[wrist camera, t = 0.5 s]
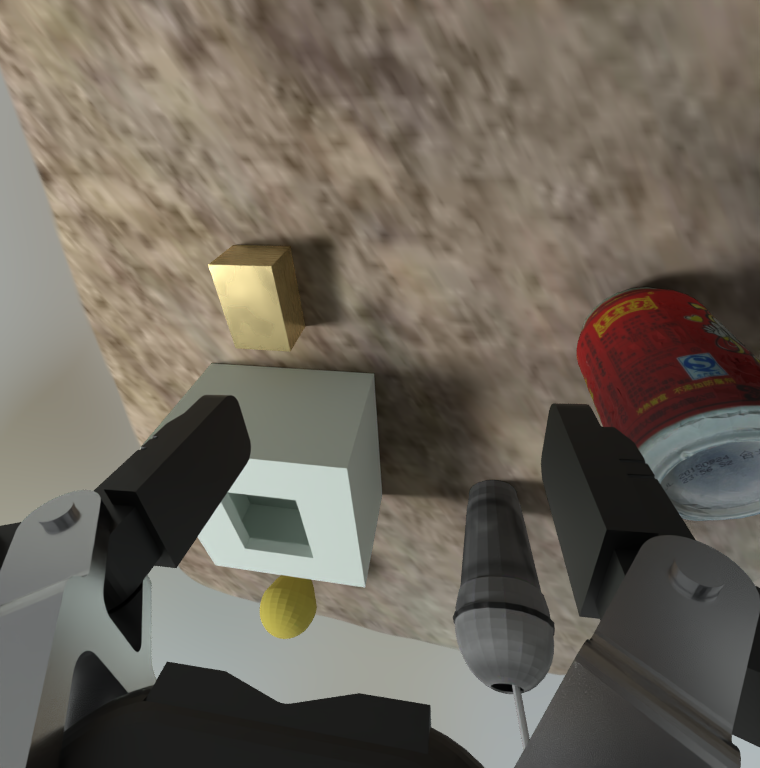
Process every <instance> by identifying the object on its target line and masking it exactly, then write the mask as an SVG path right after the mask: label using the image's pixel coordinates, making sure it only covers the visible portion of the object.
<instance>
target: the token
mask: <svg viewBox="0 0 760 768" xmlns="http://www.w3.org/2000/svg"><path fill="white" fill-rule="evenodd" d="M208 266H209V269H210V272H211V275H212V278H213V281H214V284H215V287H216V290H217V293H218V296H219V299H220V302H221V305H222V308H223V311H224V314H225V317H226V320H227V323H228V326H229V329H230V332H231V335H232V338H233V341H234V344H235V347H236V348H240V349H257V350H274V351H291V350H292V348H293V346H294V345H295V343H296V341H297V340H298V338H299V336H300V334H301V333H302V331H303V329H304V328H305V322H304V317H303V312H302V306H301V301H300V296H299V290H298V285H297V279H296V274H295V269H294V263H293V258H292V252H291V247H290V246H252V245H233V246H231V247H230V248H229V249H228V250H226V251H225V252H224V253H223V254H221V255H220V256H219V257H217V258H216V259H215V260H214V261H212V262H211V263H210V264H209V265H208Z"/></svg>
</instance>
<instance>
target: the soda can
mask: <svg viewBox="0 0 760 768" xmlns="http://www.w3.org/2000/svg"><path fill="white" fill-rule="evenodd" d="M577 360H578V365H579V367H580V369H581V372H582V374H583V377H584V379H585V382H586V384H587V387H588V390H589V392H590V394H591V397H592V399H593V402H594V404H595V407H596V409H597V412H598V414H599V417H600V420H601V422H602V425H603V427H615V428H616V429H617V430H619V431H620V432H621V433H623V434H624V435H625V436H627V437H628V438H629V439H630V440H632V441H633V442H634V443H635V445H636V446H637V448H638V449H639V451H640V453H641V454H642V456H643V457H644V459H645V464H648V465H649V467H650V468H651V470H652V472H653V473H654V475H655V479H657V480H658V481H659V483H660V484H661V486H662V488H663V489H664V491H665V492H666V494H667V495H668V497H669V499H670V500H671V502H672V503H673V505H674V507H675V508H676V510H677V511H678V513H679V515H680V516H681V518H683V519H687V520H694V521H706V520H725V519H737V518H744V517H748V516H753V515H757V514H760V361H759V360H758V359H757V358H756V357H755V356H754V355H753V354H752V353H751V352H750V351H749V350H748V349H747V348H746V347H745V346H744V345H743V344H742V343H741V342H740V341H738V340H737V339H736V338H735V337H734V335H733V334H731V333H730V332H729V331H728V330H727V329H726V328H725V327H724V326H723V325H722V324H721V323H720V322H719V321H718V320H717V319H716V318H715V317H714V316H713V315H712V314H711V313H710V312H709V311H708V310H707V309H706V308H705V307H704V306H703V305H702V304H700V303H699V302H698V301H697V300H695V299H694V298H692V297H690V296H689V295H687V294H683V293H680V292H677V291H674V290H666V289H655V288H649V287H644V288H632V289H629V290H626V291H623V292H619V293H616V294H615V295H613V296H611V297H609V298H607V299H606V300H604V301H603V302H602V303H600V304H599V305H598V306H597V307H596V308H594V310H593V311H592V312H591V313H590V315H589V316H588V317H587V318H586V321H585V323H584V326H583V328H582V331H581V334H580V337H579V340H578V345H577Z"/></svg>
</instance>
